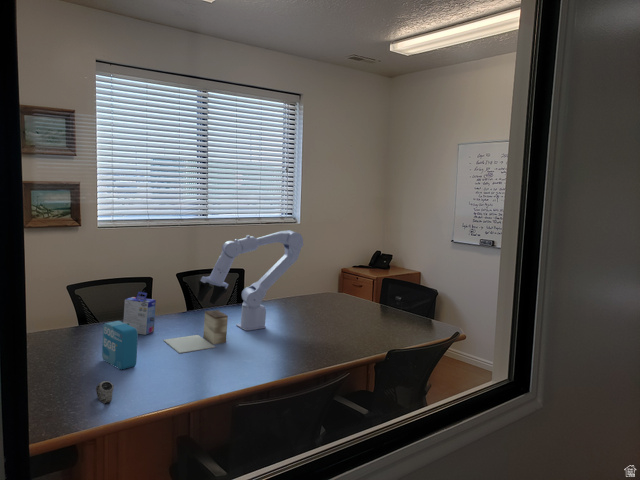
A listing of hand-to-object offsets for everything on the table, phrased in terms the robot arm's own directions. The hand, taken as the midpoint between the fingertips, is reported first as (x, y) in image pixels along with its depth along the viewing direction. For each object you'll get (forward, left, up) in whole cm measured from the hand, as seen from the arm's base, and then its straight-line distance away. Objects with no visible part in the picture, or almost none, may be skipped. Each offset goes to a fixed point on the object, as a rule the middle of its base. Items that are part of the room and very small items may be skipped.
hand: (205, 301), depth 181 cm
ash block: (+2, +13, -11) cm, 17 cm away
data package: (+38, +20, -11) cm, 44 cm away
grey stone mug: (+48, +42, -11) cm, 65 cm away
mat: (+12, +13, -11) cm, 21 cm away
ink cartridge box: (+23, -7, -11) cm, 26 cm away
